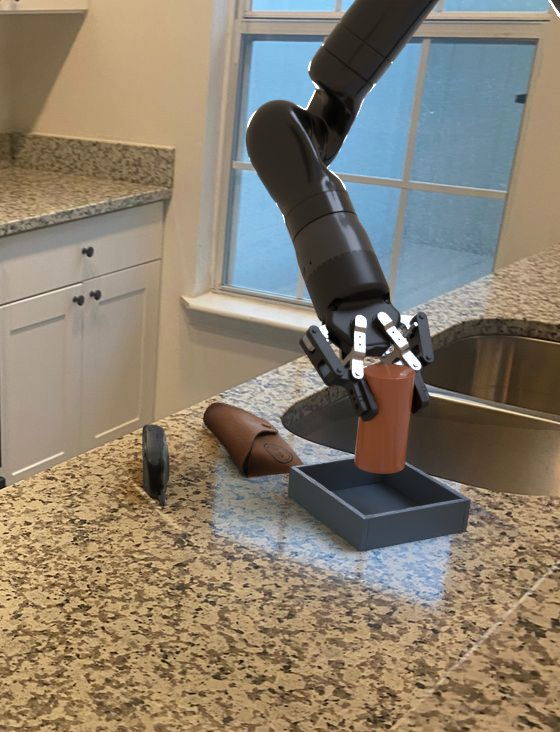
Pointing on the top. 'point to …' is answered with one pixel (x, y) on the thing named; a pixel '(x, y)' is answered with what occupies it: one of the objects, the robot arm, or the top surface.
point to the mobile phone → (155, 462)
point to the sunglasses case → (250, 441)
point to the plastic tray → (377, 503)
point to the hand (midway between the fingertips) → (396, 413)
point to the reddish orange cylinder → (386, 419)
